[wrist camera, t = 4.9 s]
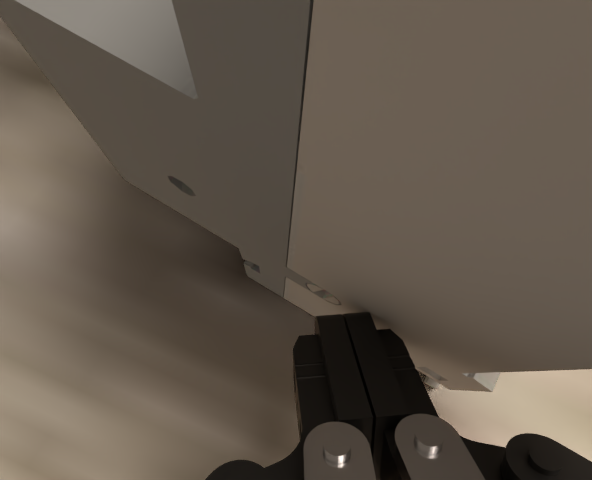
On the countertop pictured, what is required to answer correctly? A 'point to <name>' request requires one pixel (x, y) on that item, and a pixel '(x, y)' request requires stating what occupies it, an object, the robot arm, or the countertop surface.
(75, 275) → the countertop surface
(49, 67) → the circuit breaker
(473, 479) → the robot arm
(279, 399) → the countertop surface
